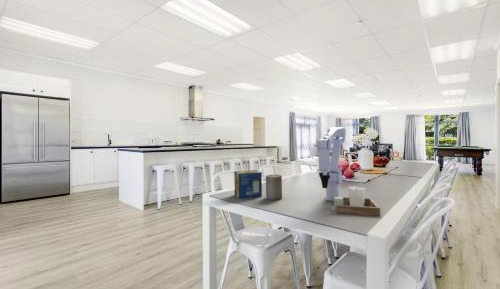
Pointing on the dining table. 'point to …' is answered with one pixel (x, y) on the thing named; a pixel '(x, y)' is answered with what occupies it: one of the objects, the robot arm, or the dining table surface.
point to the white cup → (357, 196)
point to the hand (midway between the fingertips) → (324, 186)
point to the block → (338, 201)
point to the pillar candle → (274, 187)
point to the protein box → (248, 183)
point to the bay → (359, 208)
